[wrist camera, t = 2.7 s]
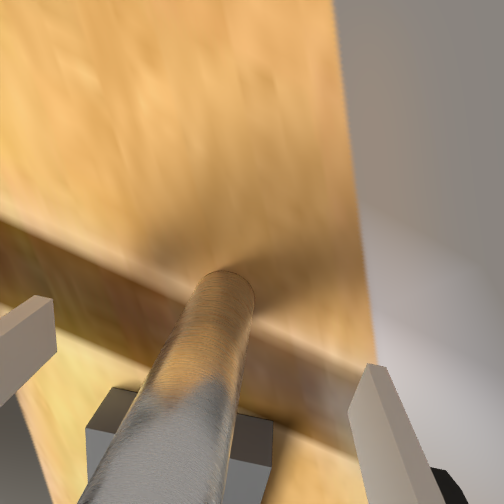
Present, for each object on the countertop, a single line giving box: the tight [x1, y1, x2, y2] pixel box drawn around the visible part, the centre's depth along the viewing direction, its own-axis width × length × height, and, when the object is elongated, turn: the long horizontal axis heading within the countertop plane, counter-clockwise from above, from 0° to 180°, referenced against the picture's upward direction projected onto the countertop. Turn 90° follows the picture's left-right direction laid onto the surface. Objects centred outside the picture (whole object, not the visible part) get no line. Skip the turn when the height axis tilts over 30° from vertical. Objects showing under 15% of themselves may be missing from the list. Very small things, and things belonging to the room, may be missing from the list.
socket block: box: [85, 388, 273, 504], centre depth 21 cm, size 11×11×3 cm
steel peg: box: [77, 271, 255, 504], centre depth 11 cm, size 3×3×14 cm
